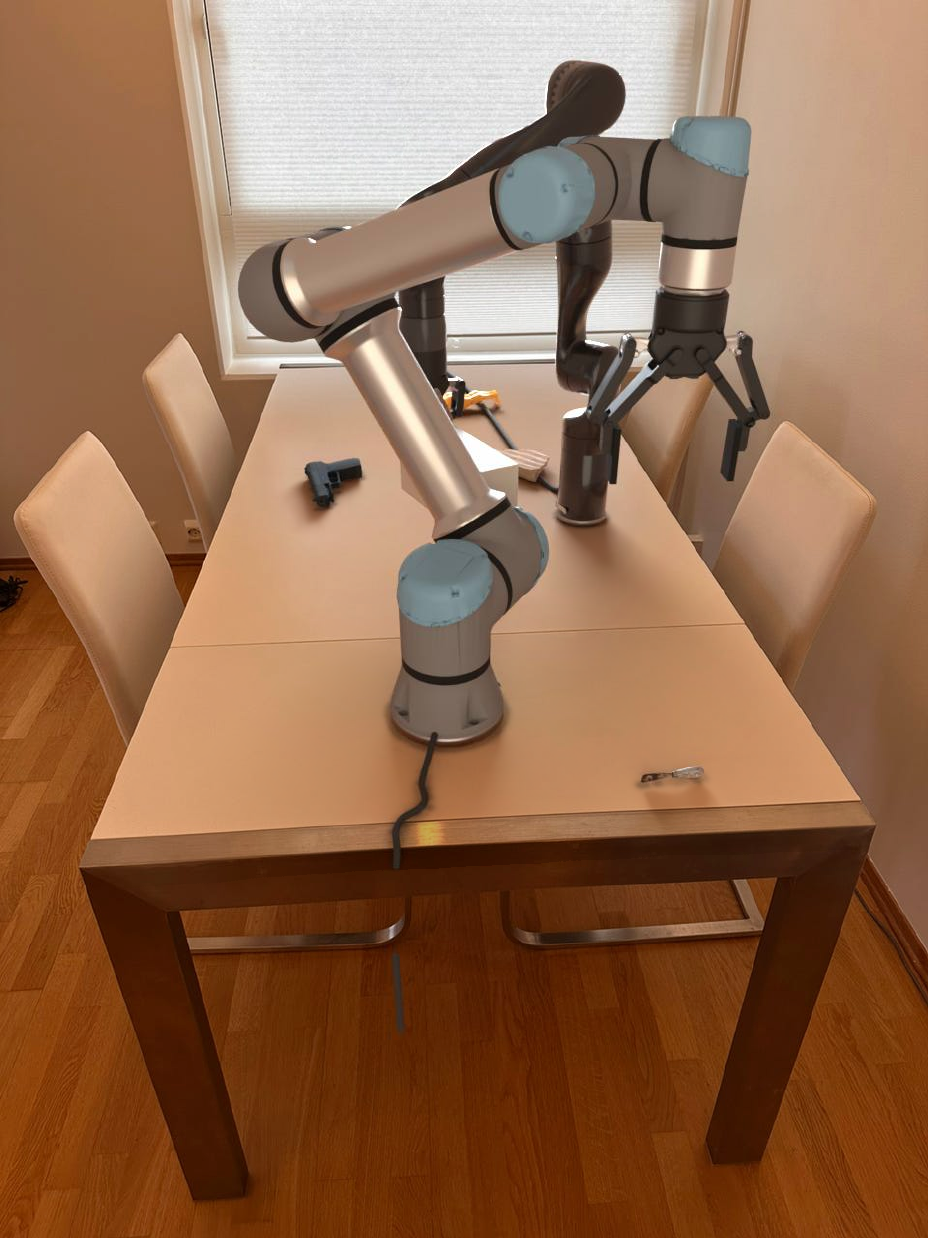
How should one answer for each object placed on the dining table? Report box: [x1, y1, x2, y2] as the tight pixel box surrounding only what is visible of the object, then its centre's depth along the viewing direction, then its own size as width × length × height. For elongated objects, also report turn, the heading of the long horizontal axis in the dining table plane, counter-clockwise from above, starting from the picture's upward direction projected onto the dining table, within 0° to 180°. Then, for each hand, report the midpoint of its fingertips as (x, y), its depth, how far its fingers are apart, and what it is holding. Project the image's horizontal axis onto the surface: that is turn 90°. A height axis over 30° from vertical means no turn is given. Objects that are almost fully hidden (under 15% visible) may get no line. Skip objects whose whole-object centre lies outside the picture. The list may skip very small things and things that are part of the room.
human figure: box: [443, 389, 500, 410], centre depth 225 cm, size 20×20×4 cm
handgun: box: [303, 457, 363, 509], centre depth 184 cm, size 3×18×12 cm
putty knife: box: [640, 765, 705, 784], centre depth 109 cm, size 1×8×2 cm, turn 103°
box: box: [399, 424, 519, 511], centre depth 141 cm, size 27×6×12 cm, turn 30°
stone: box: [495, 448, 550, 483], centre depth 192 cm, size 13×12×2 cm
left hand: (669, 478), depth 104 cm, fingers open, 13 cm apart
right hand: (425, 445), depth 148 cm, fingers closed on box, 6 cm apart
